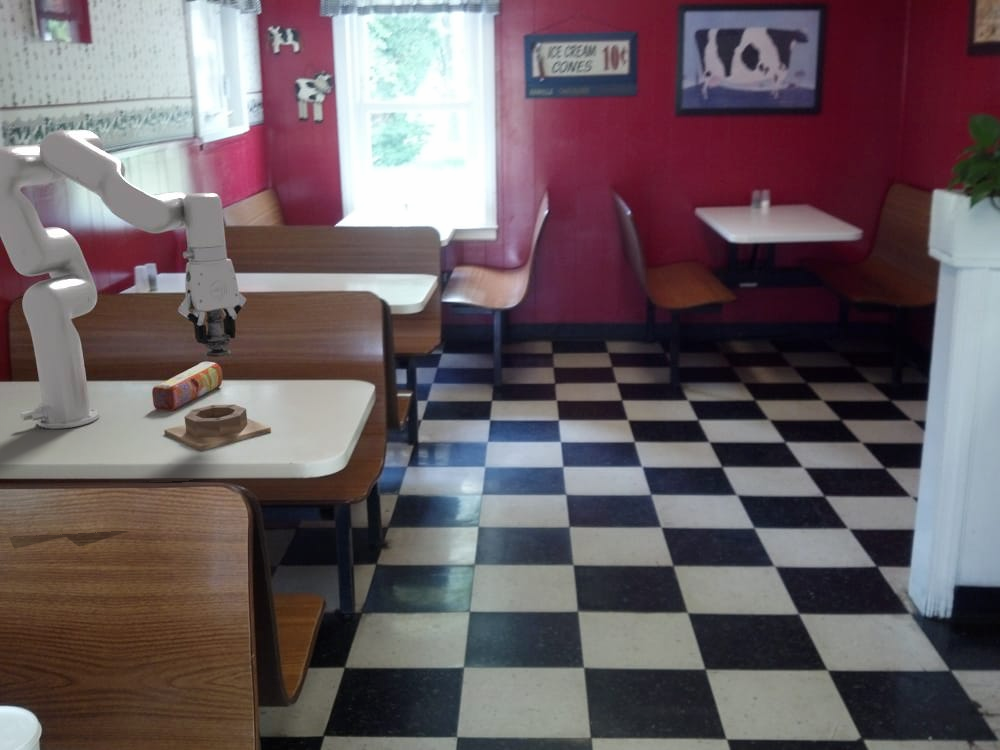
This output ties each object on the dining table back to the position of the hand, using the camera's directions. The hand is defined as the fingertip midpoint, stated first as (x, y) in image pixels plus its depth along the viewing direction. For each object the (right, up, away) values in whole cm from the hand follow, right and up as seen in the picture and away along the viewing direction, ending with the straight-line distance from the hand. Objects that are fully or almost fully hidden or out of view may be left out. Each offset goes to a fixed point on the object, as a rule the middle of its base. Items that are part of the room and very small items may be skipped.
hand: (216, 339), depth 213 cm
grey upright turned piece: (0, -3, +1) cm, 3 cm away
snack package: (-14, -13, +28) cm, 34 cm away
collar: (0, -20, +1) cm, 20 cm away
